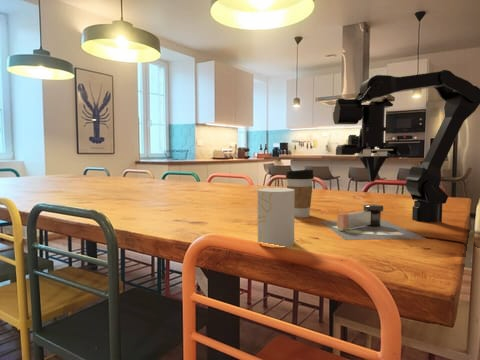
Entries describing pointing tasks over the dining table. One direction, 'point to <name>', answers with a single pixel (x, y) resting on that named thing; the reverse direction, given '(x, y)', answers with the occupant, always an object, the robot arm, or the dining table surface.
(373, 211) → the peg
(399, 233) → the dial board
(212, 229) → the dining table surface
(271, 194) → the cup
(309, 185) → the coffee cup
